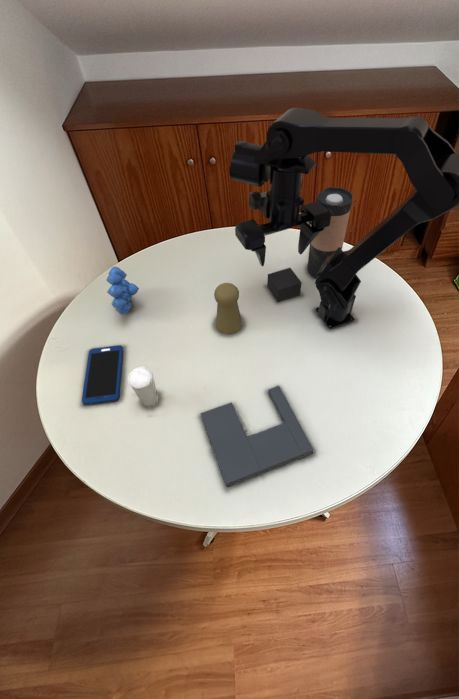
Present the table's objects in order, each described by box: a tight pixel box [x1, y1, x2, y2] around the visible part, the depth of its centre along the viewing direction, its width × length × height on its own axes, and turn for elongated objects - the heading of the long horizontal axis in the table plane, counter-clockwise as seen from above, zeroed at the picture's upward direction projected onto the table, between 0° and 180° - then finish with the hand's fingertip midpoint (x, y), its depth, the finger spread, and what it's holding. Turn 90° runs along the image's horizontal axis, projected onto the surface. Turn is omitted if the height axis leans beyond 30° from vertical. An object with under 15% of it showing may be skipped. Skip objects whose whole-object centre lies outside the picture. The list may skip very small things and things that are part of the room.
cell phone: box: [81, 344, 124, 406], centre depth 77 cm, size 7×14×1 cm, turn 7°
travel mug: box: [306, 186, 354, 279], centre depth 85 cm, size 8×8×20 cm
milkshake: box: [127, 366, 160, 408], centre depth 68 cm, size 4×5×10 cm
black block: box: [266, 267, 303, 303], centre depth 88 cm, size 6×6×4 cm
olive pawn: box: [213, 282, 243, 335], centre depth 79 cm, size 6×6×11 cm
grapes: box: [106, 266, 140, 316], centre depth 84 cm, size 12×7×12 cm, turn 8°
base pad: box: [200, 385, 314, 488], centre depth 66 cm, size 16×14×2 cm
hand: (281, 259), depth 80 cm, fingers open, 9 cm apart
